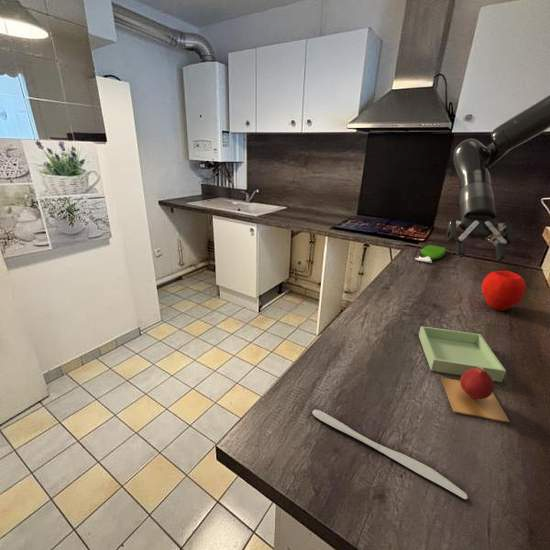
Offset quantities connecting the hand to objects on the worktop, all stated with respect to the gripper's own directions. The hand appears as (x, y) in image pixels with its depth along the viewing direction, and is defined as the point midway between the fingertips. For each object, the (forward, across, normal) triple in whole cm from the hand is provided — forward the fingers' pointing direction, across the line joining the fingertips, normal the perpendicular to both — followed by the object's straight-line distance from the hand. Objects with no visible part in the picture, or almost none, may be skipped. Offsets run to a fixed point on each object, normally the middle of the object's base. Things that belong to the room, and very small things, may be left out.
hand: (481, 258), depth 72 cm
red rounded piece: (+33, -3, +3) cm, 33 cm away
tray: (+23, -2, +13) cm, 26 cm away
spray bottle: (-37, +10, +73) cm, 83 cm away
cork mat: (+33, -3, +3) cm, 33 cm away
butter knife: (+45, -23, -9) cm, 52 cm away
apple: (0, +20, +37) cm, 42 cm away
